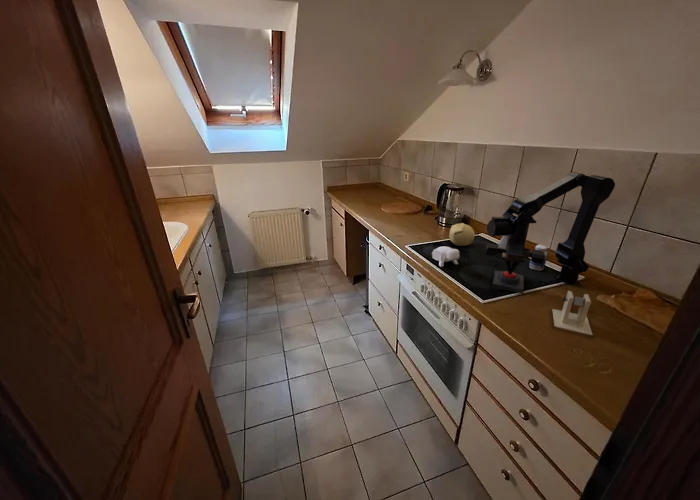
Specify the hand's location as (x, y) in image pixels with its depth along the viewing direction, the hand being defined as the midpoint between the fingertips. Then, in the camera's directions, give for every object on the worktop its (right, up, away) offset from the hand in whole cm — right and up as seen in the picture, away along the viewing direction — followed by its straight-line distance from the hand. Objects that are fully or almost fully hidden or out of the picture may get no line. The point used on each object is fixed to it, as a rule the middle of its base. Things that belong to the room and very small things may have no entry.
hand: (509, 273), depth 111 cm
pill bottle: (+18, +1, +14) cm, 23 cm away
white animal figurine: (-18, +3, +20) cm, 27 cm away
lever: (+9, -8, -19) cm, 23 cm away
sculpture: (-3, +12, +40) cm, 42 cm away
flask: (+15, +9, +33) cm, 37 cm away
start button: (0, -2, +1) cm, 2 cm away
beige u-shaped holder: (+7, -14, -21) cm, 26 cm away
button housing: (0, -4, +2) cm, 5 cm away
